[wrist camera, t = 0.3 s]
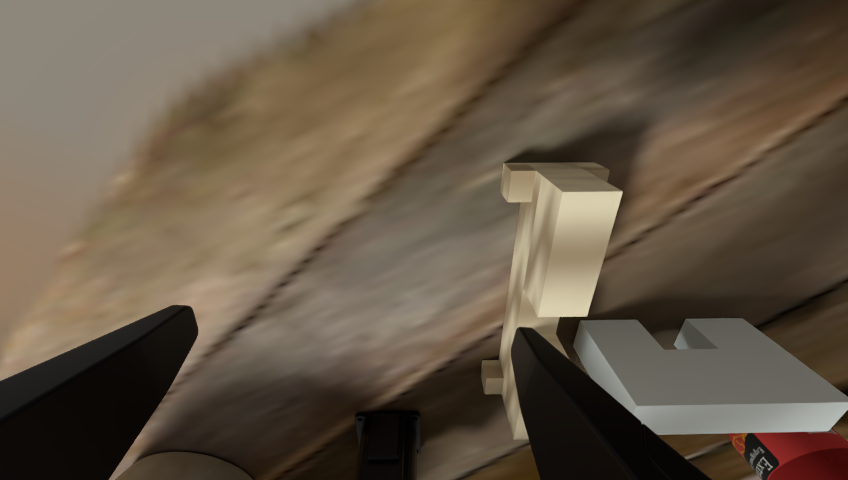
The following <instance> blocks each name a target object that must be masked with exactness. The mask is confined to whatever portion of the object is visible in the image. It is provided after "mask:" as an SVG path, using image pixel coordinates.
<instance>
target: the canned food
mask: <svg viewBox="0 0 848 480" xmlns="http://www.w3.org/2000/svg"><path fill="white" fill-rule="evenodd" d="M728 435H729V437H730V440H731V442H732V444H733V445H734V447H735V448H736V449H737V450H738V452H739V453H740V454H741V455H742V456H743V458H744V459H745V460H746V461H747V462H748V463H749V465H750V466H751V467H752V468H753V469H754V471H755V472H756V473H757V474H758V475H759V476H760V478H761V479H762V480H848V441H847V440H845V439H844V438H843V437H842V436H841V435H840V434H838V433H837V432H836V431H835V430H834V429H832V428H831V429H830V430H829V431H819V432H768V433H728Z"/></svg>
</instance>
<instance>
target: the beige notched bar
mask: <svg viewBox="0 0 848 480" xmlns="http://www.w3.org/2000/svg"><path fill="white" fill-rule="evenodd" d="M609 172H610V170H609V169H607V168H605V167H603V166H601V165H599V164H597V163H595V162H562V163H504V164H503V173H502V182H501V194H502V195H503V196H504V198H505V199H506V201H507V202H521V204H520V211H519V218H518V226H517V233H516V240H515V247H514V254H513V261H512V269H511V276H510V283H509V290H508V297H507V304H506V312H505V319H504V326H503V333H502V340H501V348H500V355H499V360H482V368H481V379H482V384H483V389H484V393H485V394H502V398H503V401H504V405H505V409H506V413H507V417H508V420H509V424H510V428H511V432H512V436H513V439H529V438H528V434H527V431H526V427H525V424H524V421H523V417H522V413H521V410H520V405H519V400H518V395H517V389H516V383H515V378H514V372H513V366H512V361H511V346H512V342H513V339H514V335H515V332H516V329H517V328H518V327H531V328H533V329H535V330H536V331H537V332H538V333H539V334H540V335H542V336H543V337H544V338H545V339H546V340H547V341H549V342H550V343H551V344H552V345H553V346H554V347H556V348H557V349H558V350H559V351H560V352H561V353H562V354H564V355H565V356H566V357H567V358H568V356H567V354H566V352H565V350H564V348H563V347H562V345H561V343H560V341H559V339H558V337H557V335H556V330H557V326H558V322H559V318H560V317H587V315H588V311H589V308H590V305H591V301H592V298H593V294H594V291H595V287H596V284H597V280H598V277H599V273H600V270H601V266H602V263H603V259H604V256H605V252H606V249H607V245H608V242H609V238H610V235H611V231H612V228H613V224H614V221H615V218H616V214H617V211H618V207H619V204H620V200H621V197H622V193H623V191H621V190H620V189H618V188H616V187H614V186H612V185H611V184H609V183H607V180H608V176H609ZM568 359H569V358H568Z"/></svg>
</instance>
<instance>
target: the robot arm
mask: <svg viewBox="0 0 848 480" xmlns="http://www.w3.org/2000/svg"><path fill="white" fill-rule="evenodd" d="M197 336H198V326H197V323H196V319H195V315H194V312H193V309H192V308H191V307H190V306H186V305H172V306H169V307H167V308H165V309H163V310H160V311H158V312H156V313H154V314H151V315H149V316H147V317H145V318H142V319H140V320H138V321H135V322H133V323H131V324H129V325H126V326H124V327H122V328H120V329H117V330H115V331H113V332H111V333H108V334H106V335H104V336H101V337H99V338H97V339H95V340H92V341H90V342H88V343H86V344H83V345H81V346H79V347H77V348H74V349H72V350H70V351H67V352H65V353H63V354H61V355H58V356H56V357H54V358H52V359H49V360H47V361H45V362H43V363H40V364H38V365H36V366H33V367H31V368H29V369H27V370H24V371H22V372H20V373H18V374H15V375H13V376H11V377H9V378H6V379H4V380H2V381H0V480H109V478H110V477H111V475H112V474H113V472H114V471H115V469H116V468H117V466H118V465H119V463H120V462H121V460H122V459H123V457H124V456H125V454H126V453H127V451H128V450H129V448H130V447H131V445H132V444H133V442H134V441H135V439H136V438H137V436H138V435H139V434H140V432H141V431H142V429H143V428H144V426H145V425H146V423H147V422H148V420H149V419H150V417H151V416H152V414H153V413H154V411H155V410H156V408H157V407H158V405H159V404H160V402H161V401H162V399H163V398H164V396H165V395H166V393H167V391H168V390H169V388H170V386H171V385H172V383H173V381H174V379H175V377H176V376H177V374H178V372H179V370H180V368H181V366H182V364H183V363H184V361H185V359H186V357H187V355H188V353H189V351H190V350H191V348H192V346H193V344H194V342H195V340H196V338H197ZM511 361H512V366H513V372H514V378H515V383H516V389H517V395H518V400H519V405H520V410H521V413H522V417H523V421H524V424H525V427H526V431H527V434H528V438H529V441H530V445H531V448H532V452H533V455H534V458H535V462H536V465H537V469H538V472H539V476H540V479H541V480H712V479H711V478H709V477H708V476H707V475H706V474H704V473H703V472H702V471H701V470H699V469H698V468H697V467H695V466H694V465H693V464H692V463H690V462H689V461H688V460H687V459H685V458H684V457H683V456H682V455H680V454H679V453H678V452H677V451H676V450H674V449H673V448H672V447H671V446H670V445H668V444H667V443H666V442H665V441H664V440H662V439H661V438H660V437H659V436H658V435H657V434H655V433H654V432H653V431H652V430H651V429H650V428H648V427H647V426H646V425H645V424H642V423H641V421H640V420H639V419H638V418H637V417H636V416H634V415H633V414H632V413H631V412H630V411H629V410H627V409H626V408H625V407H624V406H623V405H622V404H620V403H619V402H618V401H617V400H616V399H615V398H614V397H612V396H611V395H610V394H609V393H608V392H607V391H605V390H604V389H603V388H602V387H601V386H600V385H598V384H597V383H596V382H595V381H594V380H593V379H591V378H590V377H589V376H588V375H587V374H586V373H585V372H583V371H582V370H581V369H580V368H579V367H578V366H576V365H575V364H574V363H573V362H572V361H571V360H569V359H568V358H567V357H566V356H565V355H564V354H562V353H561V352H560V351H559V350H558V349H557V348H556V347H554V346H553V345H552V344H551V343H550V342H549V341H547V340H546V339H545V338H544V337H543V336H542V335H540V334H539V333H538V332H537V331H536V330H535V329H533V328H531V327H518V328H517V329H516V332H515V335H514V339H513V342H512V346H511ZM355 424H356V430H357V437H358V443H359V452H358V458H357V464H356V471H355V477H354V480H416V466H417V454H419V453H420V452H421V435H420V413H419V412H363V413H357V414H356V415H355Z"/></svg>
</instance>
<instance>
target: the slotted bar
mask: <svg viewBox="0 0 848 480" xmlns="http://www.w3.org/2000/svg"><path fill="white" fill-rule="evenodd" d="M674 346H675V347H676V348H677V349H675V350H664V349H663V348H662V347H661V346H660V345H659V343H658V342H657V341H656V340H655V339H654V338H653V337H652V336H651V335H650V333H649V332H648V331H647V330H646V329H645V328H644V327H643V326H642V325H641V323H640V322H639V321H638V320H580V322H579V326H578V330H577V333H576V337H575V340H574V344H573V348H574V349H575V351H576V353H577V355H578V356H579V358H580V360H581V362H582V363H583V365H584V367H585V369H586V370H587V372H588V374H589V376H590V377H591V379H593V380H594V381H595V382H596V383H597V384H598V385H600V386H601V387H602V388H603V389H604V390H605V391H607V392H608V393H609V394H610V395H611V396H612V397H614V398H615V399H616V400H617V401H618V402H619V403H620V404H622V405H623V406H624V407H625V408H626V409H627V410H629V411H630V412H631V413H632V414H633V415H634V416H636V417H637V418H638V419H639V420H640V421H641V423H642V424H645V425H646V426H647V427H648V428H650V429H651V430H652V431H653V432H654V433H655V434H657V435H667V434H718V433H768V432H819V431H829V430H830V429H831V428H832V427H833V425H834V424H835V423H836V422H837V421H838V420H839V419H840V418H841V417H842V416H843V414H844V413H845V412H846V411H847V410H848V397H847V396H846V395H845V394H843V393H842V392H841V391H839V390H838V389H837V388H835V387H834V386H833V385H831V384H830V383H829V382H827V381H826V380H825V379H823V378H822V377H821V376H819V375H818V374H817V373H815V372H814V371H812V370H811V369H810V368H808V367H807V366H806V365H804V364H803V363H802V362H800V361H799V360H798V359H796V358H795V357H794V356H792V355H791V354H790V353H788V352H787V351H786V350H784V349H783V348H782V347H780V346H779V345H778V344H776V343H775V342H774V341H772V340H771V339H770V338H768V337H767V336H766V335H764V334H763V333H762V332H760V331H759V330H758V329H756V328H755V327H754V326H752V325H751V324H750V323H748V322H747V321H746V320H744V319H743V318H706V319H685V321H684V323H683V326H682V328H681V330H680V332H679V334H678V336H677V338H676V340H675V343H674Z"/></svg>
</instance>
